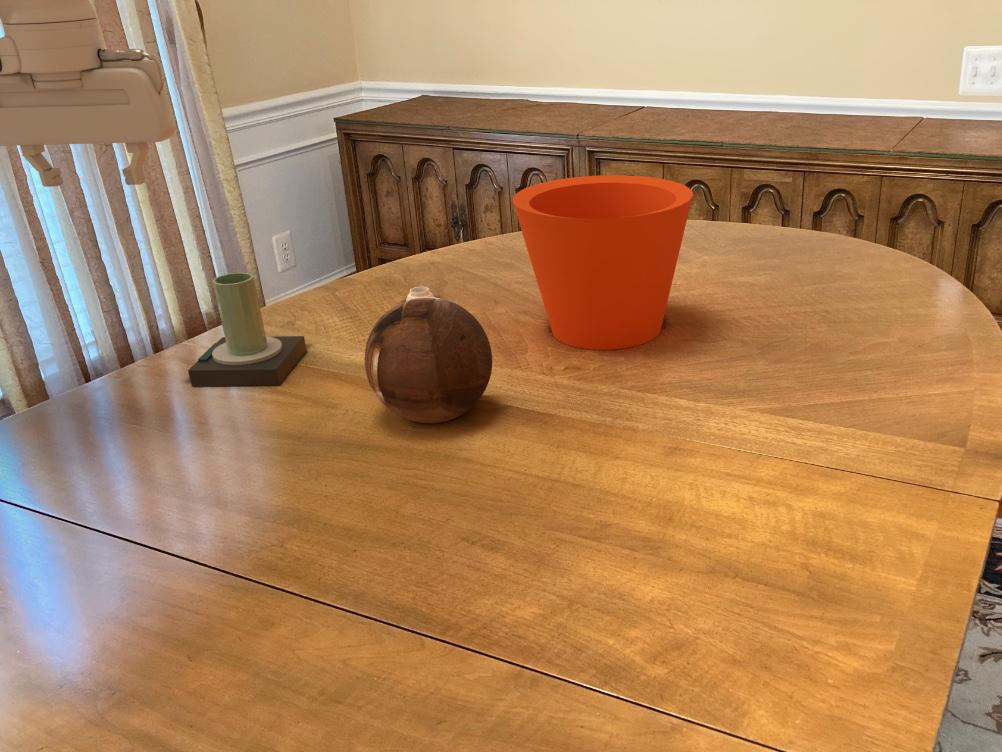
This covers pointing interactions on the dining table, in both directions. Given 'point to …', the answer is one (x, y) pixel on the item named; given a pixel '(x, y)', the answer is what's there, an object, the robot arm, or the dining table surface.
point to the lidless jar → (419, 293)
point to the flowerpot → (604, 254)
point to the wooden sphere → (428, 360)
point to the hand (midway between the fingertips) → (94, 184)
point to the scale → (248, 364)
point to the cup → (240, 313)
